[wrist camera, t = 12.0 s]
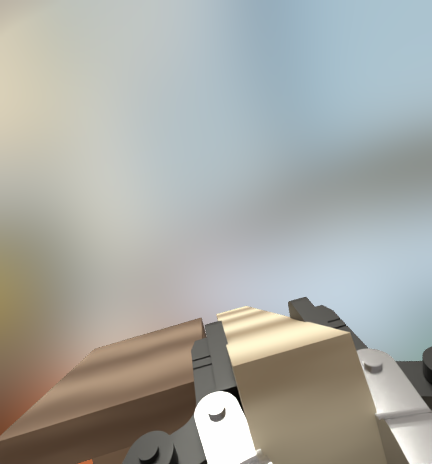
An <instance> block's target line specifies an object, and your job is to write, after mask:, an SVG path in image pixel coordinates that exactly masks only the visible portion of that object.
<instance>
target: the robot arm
mask: <svg viewBox="0 0 432 464" xmlns="http://www.w3.org/2000/svg"><path fill="white" fill-rule="evenodd" d="M288 306H289V313H290V318H291V319H295V320H299V321H303V322H311V323H315V324H319V325H323V326H327V327H330V328H334V329H338V330H342V331H346V332H350V333H351V336H352V339H353V342H354V345H355V348H356V351H357V354H358V357H359V360H360V363H361V366H362V369H363V372H364V375H365V378H366V381H367V384H368V386H369V389H370V392H371V395H372V398H373V401H374V404H375V407H376V410H377V413H374V414H375V418H376V422H377V426H378V430H379V434H380V437H381V441H382V445H383V449H384V453H385V457H386V461H387V464H432V347H430V348H428V349H426V350H425V351H424V353H423V361H395V360H394V359H393V358H392V357H391V356H390V355H388V354H387V353H385V352H382V351H379V350H376V349H368V347H367V346H366V345H365V344H364V343H363V342H362V341H361V340H360V339H359V338H358V337H357V336H356V335H355V334H354V333H353V331H352V330H351V329H350V328H349V327H348V326H346V324H345V323H344V322H343V321H342V320H340V318H339V316H337V314H336V313H335V312H334V311H333V310H331V309H329V308H327V307H325V306H323V305H320V306H317V307H314V305H313V304H312V303H311V302H310V301H309V299H308V298H307V297H303V298H299V299H296V300H292V301H289V302H288ZM205 330H206V335H207V338H203V339H200V340H196V341H195V342H194V345H193V347H192V349H191V356H192V365H193V375H194V385H195V395H196V408H195V411H194V414H193V416H192V417H191V419H190V420H189V421H188V422H187V423H186V424H185V425H184V426H183V427H181V428H180V429H178V430H177V431H175V432H174V433H172V434H171V435H168V434H167V433H166V432H163V431H152V432H148V433H146V434H144V435H143V436H141V437H140V438H139V439H137V440H136V441H135V442H134V444H133V445H132V446H131V448H130V449H129V451H128V453H127V455H126V457H125V459H124V461H123V463H122V464H272V463H271V461H270V459H269V458H268V456H267V455H264V454H263V453H262V451H261V449H258V450H255V449H254V446H253V442H252V438H251V435H250V431H249V427H248V424H247V420H246V418H245V415H244V411H243V407H242V403H241V399H240V395H239V391H238V387H237V383H236V380H235V376H234V372H233V369H232V365H231V361H230V358H229V354H228V350H227V347H226V345H227V344H228V342H227V339H226V335H225V331H224V328H223V324H222V321H217V322H214V323H210V324H207V325H205Z"/></svg>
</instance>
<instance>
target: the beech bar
mask: <svg viewBox="0 0 432 464" xmlns="http://www.w3.org/2000/svg"><path fill="white" fill-rule="evenodd" d="M217 319H218V321H222V324H223V328H224V331H225V335H226V339H227V342H228V344H227V345H226V347H227V350H228V354H229V358H230V361H231V365H232V369H233V372H234V376H235V380H236V383H237V387H238V391H239V395H240V399H241V403H242V407H243V411H244V415H245V418H246V420H247V424H248V427H249V431H250V435H251V438H252V442H253V446H254V449H255V450H258V449H261V451H262V453H263V454H264V455H267V456H268V458H269V459H270V461H271V463H272V464H387V461H386V457H385V453H384V449H383V445H382V441H381V437H380V434H379V430H378V426H377V422H376V418H375V414H374V413H377V410H376V407H375V404H374V401H373V398H372V395H371V392H370V389H369V386H368V384H367V381H366V378H365V375H364V372H363V369H362V366H361V363H360V360H359V357H358V354H357V351H356V348H355V345H354V342H353V339H352V336H351V333H350V332H346V331H342V330H338V329H334V328H330V327H327V326H323V325H319V324H315V323H311V322H303V321H299V320H295V319H291V318H290V317H287V316H283V315H279V314H275V313H271V312H267V311H263V310H259V309H256V308H252V307H248V306H245V307H241V308H237V309H234V310H230V311H226V312H223V313H219V314H217Z"/></svg>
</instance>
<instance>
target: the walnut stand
mask: <svg viewBox="0 0 432 464" xmlns="http://www.w3.org/2000/svg"><path fill="white" fill-rule="evenodd" d="M203 338H207V337H206V333H205V329H204V326H203V322H202V318H198V319H195V320H191V321H188V322H185V323H181V324H178V325H175V326H171V327H168V328H164V329H161V330H157V331H154V332H151V333H147V334H144V335H140V336H137V337H133V338H130V339H127V340H123V341H120V342H117V343H113V344H110V345H106V346H103V347H99V348H96V349H94V350H93V351H92V352H91V353H90V354H89V355H88V356H87V357H85V358H84V359H83V360H82V361H81V362H80V363H79V364H78V365H77V366H76V367H75V368H73V369H72V370H71V371H70V372H69V373H68V374H67V375H66V376H65V377H64V378H63V379H62V380H60V381H59V382H58V383H57V384H56V385H55V386H54V387H53V388H52V389H51V390H50V391H48V392H47V393H46V394H45V395H44V396H43V397H42V398H41V399H40V400H39V401H38V402H37V403H35V404H34V405H33V406H32V407H31V408H30V409H29V410H28V411H27V412H26V413H25V414H23V415H22V416H21V417H20V418H19V419H18V420H17V421H16V422H15V423H14V424H13V425H12V426H10V427H9V428H8V429H7V430H6V431H5V432H4V433H3V434H2V435H1V436H0V464H78V463H81V462H84V461H87V460H90V459H92V460H93V464H122V463H123V461H124V459H125V457H126V455H127V453H128V451H129V449H130V448H131V446H132V445H133V444H134V442H135V441H136V440H137V439H139V438H140V437H141V436H143V435H144V434H146V433H148V432H152V431H163V432H166V433H167V434H168V435H171V434H172V433H174V432H175V431H177V430H178V429H180V428H181V427H183V426H184V425H185V424H186V423H187V422H188V421H189V420H190V419H191V417H192V416H193V414H194V411H195V408H196V395H195V385H194V375H193V365H192V356H191V349H192V347H193V345H194V342H195V341H196V340H200V339H203Z"/></svg>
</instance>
